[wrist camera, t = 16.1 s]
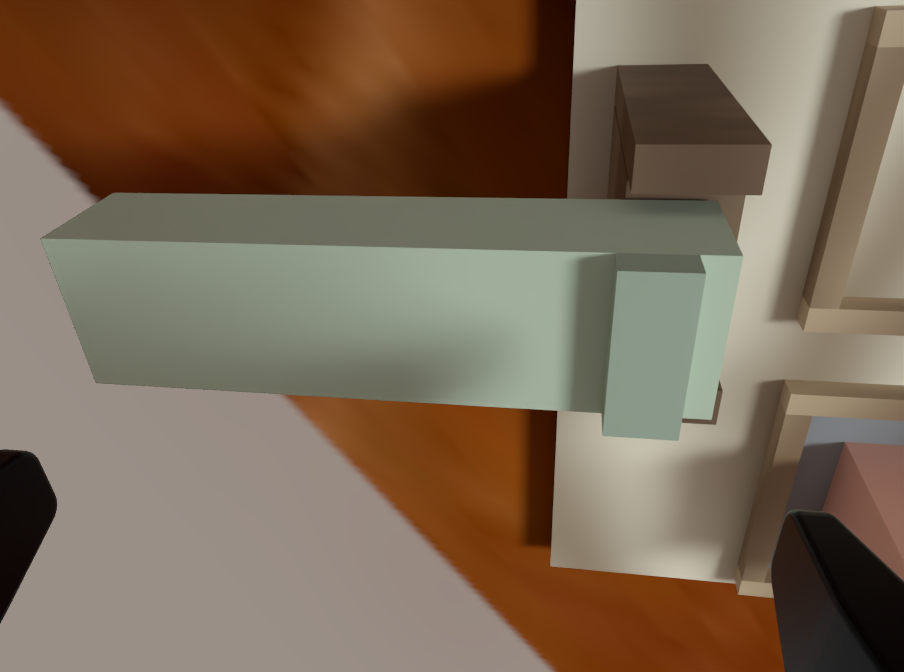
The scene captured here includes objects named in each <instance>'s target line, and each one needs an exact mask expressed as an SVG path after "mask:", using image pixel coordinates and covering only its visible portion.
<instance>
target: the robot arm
mask: <svg viewBox="0 0 904 672" xmlns="http://www.w3.org/2000/svg"><path fill="white" fill-rule="evenodd" d="M56 510H57V499H56V496H55V493H54V492H53V489H52V487H51V485H50V483H49V481H48V479H47V476H46V474H45V472H44V470H43V468H42V466H41V464H40V462H39V460H38V458H37V457H36V456H35V455H34V454H33V453H31V452H28V451H18V450H5V449H4V450H0V623H1V621H2V619H3V617H4V616H5V614H6V612H7V610H8V608H9V606H10V604H11V602H12V600H13V598H14V596H15V594H16V592H17V590H18V588H19V586H20V584H21V582H22V580H23V578H24V576H25V574H26V572H27V570H28V568H29V566H30V565H31V563H32V561H33V559H34V556H35V555H36V553H37V551H38V549H39V547H40V545H41V543H42V541H43V539H44V537H45V535H46V533H47V531H48V529H49V527H50V525H51V523H52V521H53V519H54V517H55V514H56ZM771 583H772V590H773V596H774V603H775V609H776V616H777V622H778V629H779V635H780V642H781V648H782V655H783V661H784V668H785V672H904V581H903V580H902V579H901V578H900V577H899V576H898V575H897V574H896V573H895V572H894V571H893V570H892V569H891V568H890V567H888V566H887V565H886V564H885V563H884V562H883V561H882V560H881V559H880V558H879V557H878V556H877V555H876V554H875V553H874V552H873V551H871V550H870V549H869V548H868V547H867V546H866V545H865V544H864V543H863V542H862V541H861V540H860V539H859V538H858V537H857V536H856V535H855V534H853V533H852V532H851V531H850V530H849V529H848V528H847V527H846V526H845V525H844V524H843V523H842V522H841V521H840V520H839V519H838V518H836V517H835V516H834V515H832V514H830V513H828V512H824V511H811V510H798V509H794V510H791V511H789V512H788V513H787V514H786V516H785V518H784V520H783V524H782V527H781V531H780V534H779V538H778V541H777V544H776V548H775V551H774V555H773V558H772V563H771Z"/></svg>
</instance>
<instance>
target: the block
mask: <svg viewBox="0 0 904 672" xmlns="http://www.w3.org/2000/svg"><path fill="white" fill-rule="evenodd" d="M822 511H824V512H828V513H830V514H832V515H834V516H835V517H836V518H838V519H839V520H840V521H841V522H842V523H843V524H844V525H845V526H846V527H847V528H848V529H849V530H850V531H851V532H852V533H853V534H855V535H856V536H857V537H858V538H859V539H860V540H861V541H862V542H863V543H864V544H865V545H866V546H867V547H868V548H869V549H870V550H871V551H873V552H874V553H875V554H876V555H877V556H878V557H879V558H880V559H881V560H882V561H883V562H884V563H885V564H886V565H887V566H888V567H890V568H891V569H892V570H893V571H894V572H895V573H896V574H897V575H898V576H899V577H900V578H901V579H902V580H903V581H904V446H902V445H887V444H872V443H857V442H845V443H844V446H843V449H842V452H841V455H840V458H839V461H838V464H837V467H836V470H835V473H834V476H833V479H832V482H831V485H830V488H829V491H828V494H827V497H826V500H825V503H824V506H823V509H822Z"/></svg>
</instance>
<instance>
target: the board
mask: <svg viewBox="0 0 904 672" xmlns="http://www.w3.org/2000/svg"><path fill="white" fill-rule="evenodd" d="M567 199H620V200H694V201H718V202H719V204H720V207H721V209H722V211H723V213H724V215H725V217H726V220H727V222H728V224H729V226H730V228H731V230H732V233H733V235H734V237H735V239H736V241H737V243H738V245H739V248H740V250H741V252H742V254H743V261H742V266H741V271H740V276H739V281H738V287H737V292H736V297H735V302H734V307H733V312H732V317H731V323H730V328H729V333H728V338H727V343H726V348H725V353H724V359H723V364H722V369H721V374H720V379H719V384H718V389H717V395H716V400H715V405H714V410H713V415H712V420H705V419H688V418H682V423H681V429H680V435H679V441H672V440H656V439H641V438H625V437H610V436H602V415H601V413H588V412H571V411H557V432H556V453H555V475H554V497H553V519H552V541H551V564H550V566H554V567H565V568H576V569H586V570H597V571H608V572H618V573H629V574H640V575H650V576H661V577H671V578H682V579H693V580H703V581H714V582H725V583H735V584H736V587H737V592H738V594H739V595H749V596H759V597H770V598H774V596H773V590H772V583H771V563H772V558H773V555H774V551H775V548H776V544H777V541H778V538H779V534H780V531H781V527H782V524H783V520H784V518H785V516H786V514H787V513H788V512H789V511H791V510H794V509H798V510H811V511H822V509H823V506H824V503H825V500H826V497H827V494H828V491H829V488H830V485H831V482H832V479H833V476H834V473H835V470H836V467H837V464H838V461H839V458H840V455H841V452H842V449H843V446H844V443H845V442H857V443H872V444H887V445H902V446H904V0H576V14H575V36H574V58H573V80H572V102H571V124H570V146H569V168H568V190H567Z"/></svg>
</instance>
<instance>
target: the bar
mask: <svg viewBox="0 0 904 672" xmlns="http://www.w3.org/2000/svg"><path fill="white" fill-rule="evenodd" d="M41 242H42V244H43V247H44V249H45V252H46V255H47V257H48V260H49V262H50V265H51V268H52V270H53V273H54V275H55V278H56V281H57V283H58V286H59V289H60V291H61V294H62V296H63V299H64V301H65V304H66V307H67V309H68V312H69V314H70V317H71V320H72V322H73V325H74V327H75V330H76V333H77V335H78V338H79V340H80V343H81V346H82V348H83V351H84V353H85V356H86V359H87V361H88V364H89V366H90V369H91V372H92V374H93V377H94V379H95V382H96V383H103V384H121V385H136V386H153V387H154V386H155V387H170V388H186V389H203V390H221V391H236V392H253V393H270V394H287V395H303V396H320V397H337V398H354V399H370V400H387V401H404V402H420V403H437V404H454V405H471V406H487V407H504V408H521V409H538V410H554V411H571V412H588V413H601V415H602V436H610V437H625V438H641V439H656V440H672V441H679V435H680V429H681V423H682V418H688V419H705V420H712V415H713V410H714V405H715V400H716V395H717V389H718V384H719V379H720V374H721V369H722V364H723V359H724V353H725V348H726V343H727V338H728V333H729V328H730V323H731V317H732V312H733V307H734V302H735V297H736V292H737V287H738V281H739V276H740V271H741V266H742V261H743V254H742V252H741V250H740V248H739V245H738V243H737V241H736V239H735V237H734V235H733V233H732V230H731V228H730V226H729V224H728V222H727V220H726V217H725V215H724V213H723V211H722V209H721V207H720V204H719V202H718V201H694V200H620V199H545V198H470V197H396V196H321V195H246V194H172V193H112V194H111V195H109V196H107V197H106V198H104V199H103V200H101V201H99V202H98V203H96V204H95V205H93V206H91V207H90V208H88V209H87V210H85V211H83V212H82V213H80V214H79V215H77V216H76V217H74V218H72V219H71V220H69V221H68V222H66V223H65V224H63V225H61V226H60V227H58V228H56V229H55V230H53V231H52V232H50V233H49V234H47V235H45V236H44V237H42V238H41Z"/></svg>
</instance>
